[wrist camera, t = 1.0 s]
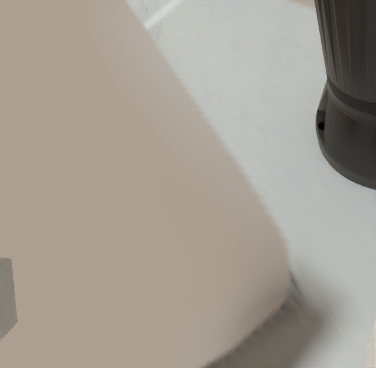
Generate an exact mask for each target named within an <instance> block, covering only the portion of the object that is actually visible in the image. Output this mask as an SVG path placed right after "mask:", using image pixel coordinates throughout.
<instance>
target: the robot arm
mask: <svg viewBox="0 0 376 368" xmlns="http://www.w3.org/2000/svg"><path fill="white" fill-rule="evenodd" d="M314 1H315V7H316V13H317V19H318V25H319V31H320V37H321V43H322V49H323V55H324V62H325V67H326V73H327V81H326V84H325V87H324V90H323V94H322V97H321V100H320V103H319V106H318V110H317V114H316V132H317V137H318V142H319V145H320V149H321V151H322V153H323V155H324V157H325V159H326V160H327V161H328V163H329V164H330V165H331V166H332V167H333V168H334V169H335V170H336V171H337V172H339V173H340V174H341V175H343V176H344V177H346V178H347V179H349V180H351V181H353V182H355V183H357V184H360V185H362V186H365V187H368V188H372V189H375V190H376V0H314ZM16 323H17V313H16V302H15V292H14V282H13V273H12V262H11V259H7V258H0V340H1V339H2V338H3V337H4V336H5V335H6V334H7V333H8V332H9V331H10V330H11V329H12V328H13V326H14V325H15V324H16ZM364 364H365V366H366V368H376V315H375V319H374V323H373V327H372V332H371V336H370V340H369V344H368V348H367V352H366V357H365V361H364Z"/></svg>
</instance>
